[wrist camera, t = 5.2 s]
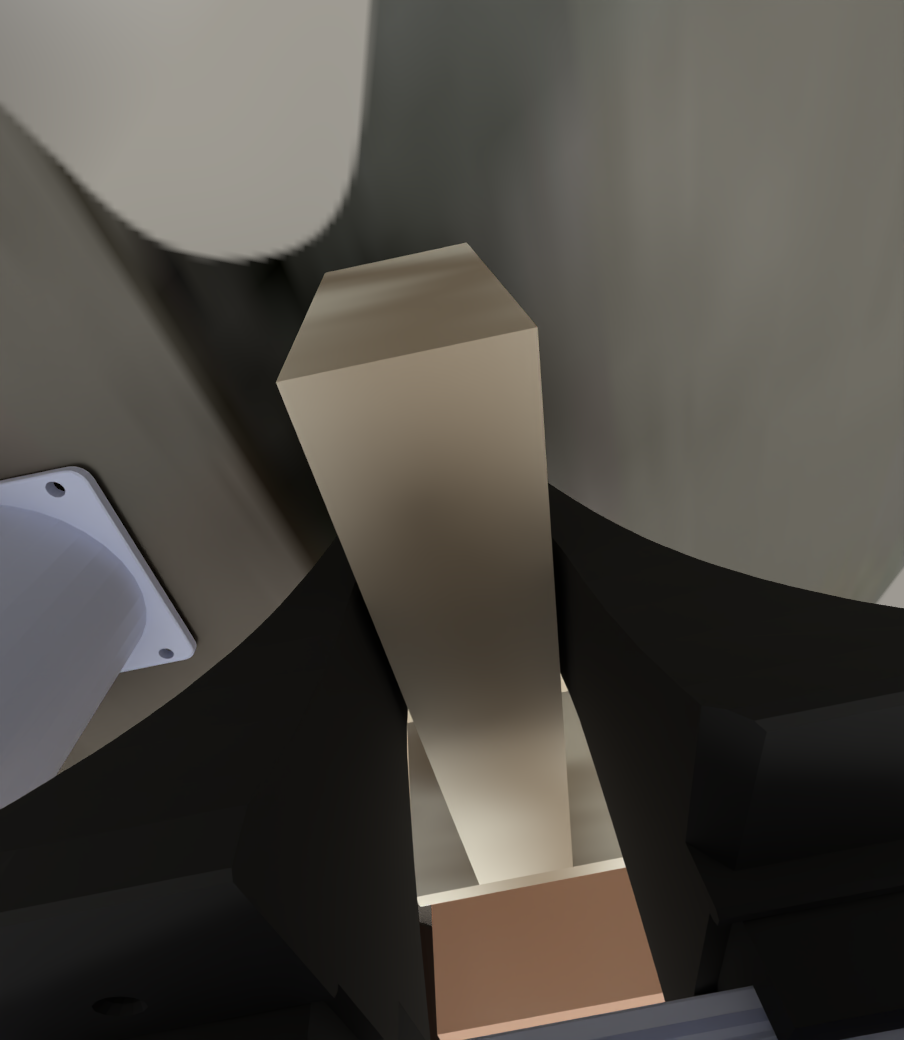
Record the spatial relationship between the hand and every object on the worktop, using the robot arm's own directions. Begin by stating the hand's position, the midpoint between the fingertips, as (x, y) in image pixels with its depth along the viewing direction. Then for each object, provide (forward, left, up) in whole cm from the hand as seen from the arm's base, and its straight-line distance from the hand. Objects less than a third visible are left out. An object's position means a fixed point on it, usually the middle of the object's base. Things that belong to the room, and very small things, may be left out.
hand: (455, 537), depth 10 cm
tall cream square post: (0, -2, -2) cm, 3 cm away
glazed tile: (0, -15, -5) cm, 16 cm away
